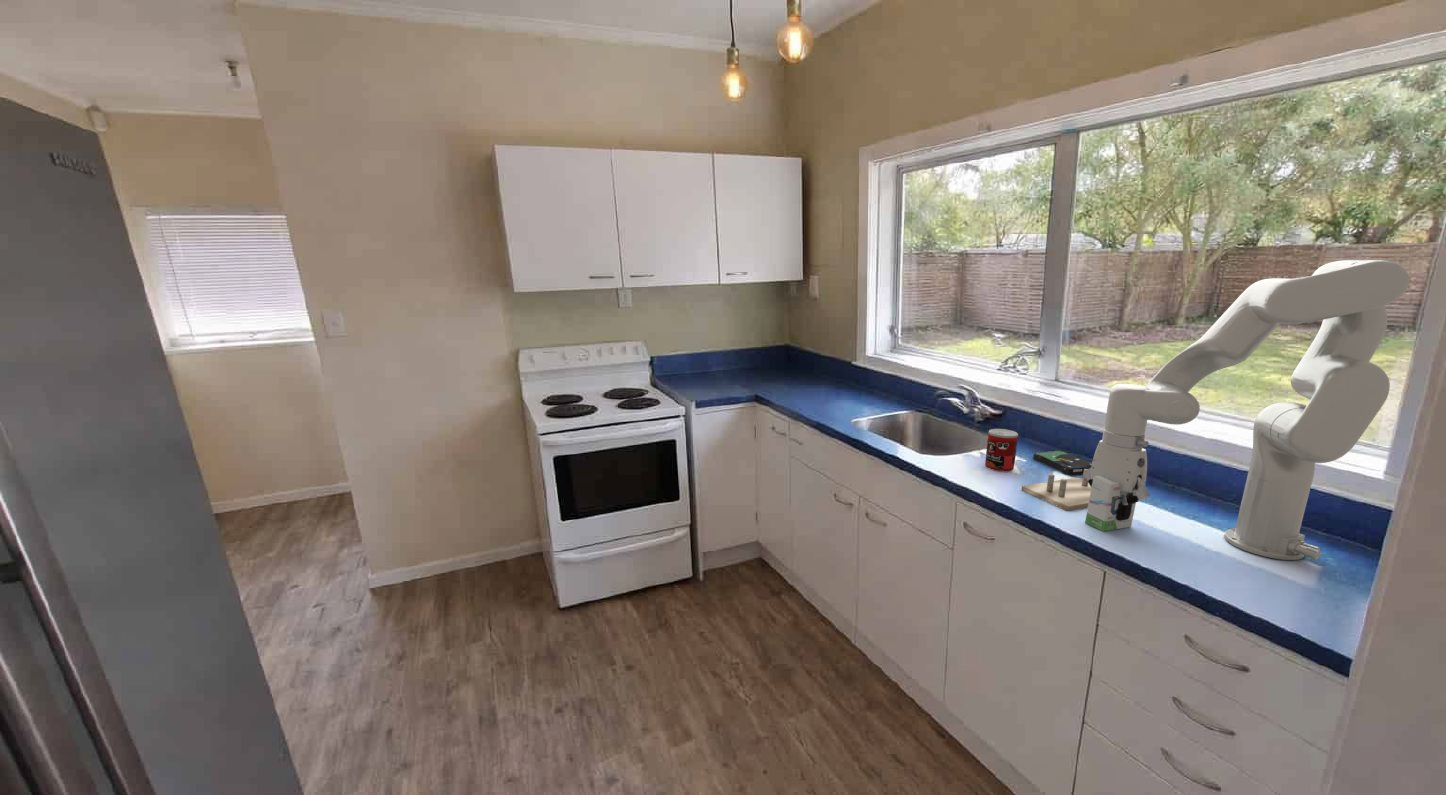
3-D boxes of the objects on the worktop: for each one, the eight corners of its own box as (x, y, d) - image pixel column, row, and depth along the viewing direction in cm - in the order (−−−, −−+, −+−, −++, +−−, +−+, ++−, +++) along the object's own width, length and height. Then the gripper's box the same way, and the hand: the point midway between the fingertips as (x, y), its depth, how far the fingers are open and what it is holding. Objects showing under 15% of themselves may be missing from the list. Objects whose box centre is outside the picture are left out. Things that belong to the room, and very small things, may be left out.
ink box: (1112, 518, 134) (1120, 472, 131) (1132, 528, 129) (1141, 479, 127) (1083, 522, 132) (1091, 475, 129) (1103, 532, 127) (1111, 483, 124)
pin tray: (1126, 500, 144) (1129, 479, 143) (1067, 511, 138) (1070, 489, 137) (1077, 481, 157) (1080, 462, 156) (1021, 490, 151) (1024, 470, 150)
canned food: (979, 464, 171) (982, 429, 168) (1000, 461, 173) (1004, 427, 171) (998, 473, 164) (1002, 437, 161) (1019, 470, 166) (1024, 434, 164)
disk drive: (1099, 475, 164) (1060, 457, 178) (1100, 466, 163) (1061, 449, 177) (1068, 477, 162) (1031, 460, 176) (1069, 468, 161) (1032, 451, 175)
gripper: (1174, 449, 119) (1159, 527, 123) (1099, 427, 135) (1088, 498, 139) (1149, 452, 117) (1134, 532, 121) (1075, 430, 133) (1065, 502, 137)
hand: (1109, 513), depth 130 cm, fingers closed on ink box, 5 cm apart
